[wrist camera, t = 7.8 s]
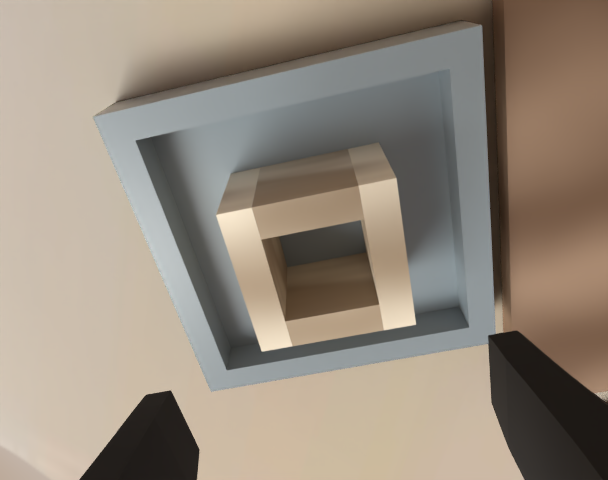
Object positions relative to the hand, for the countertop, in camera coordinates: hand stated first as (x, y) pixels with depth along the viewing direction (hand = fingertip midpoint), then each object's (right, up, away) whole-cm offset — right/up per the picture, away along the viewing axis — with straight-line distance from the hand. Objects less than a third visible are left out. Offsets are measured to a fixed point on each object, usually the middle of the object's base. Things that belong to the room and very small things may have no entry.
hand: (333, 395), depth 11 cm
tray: (0, +4, +8) cm, 9 cm away
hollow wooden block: (0, +4, +7) cm, 9 cm away
